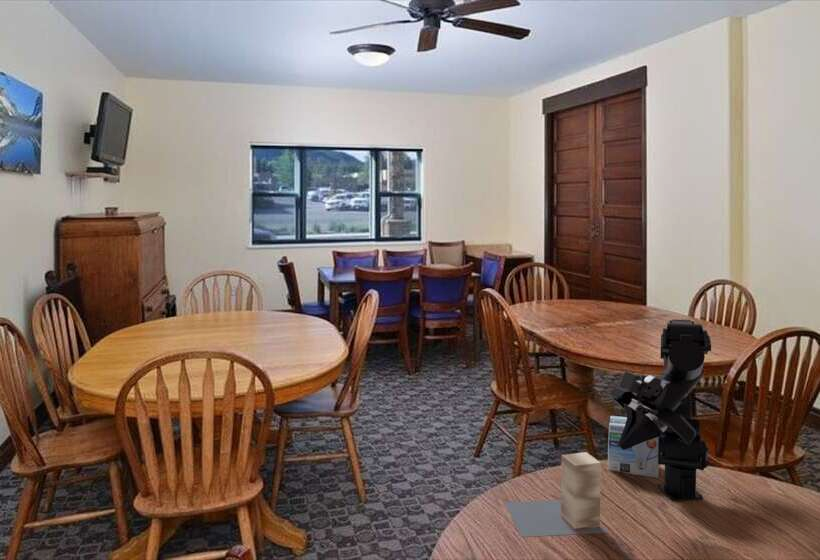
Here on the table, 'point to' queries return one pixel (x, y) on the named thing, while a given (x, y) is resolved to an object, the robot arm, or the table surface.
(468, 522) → the table surface
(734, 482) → the table surface
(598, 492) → the beech block
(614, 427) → the light bulb box
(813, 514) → the table surface
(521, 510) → the slate mat
